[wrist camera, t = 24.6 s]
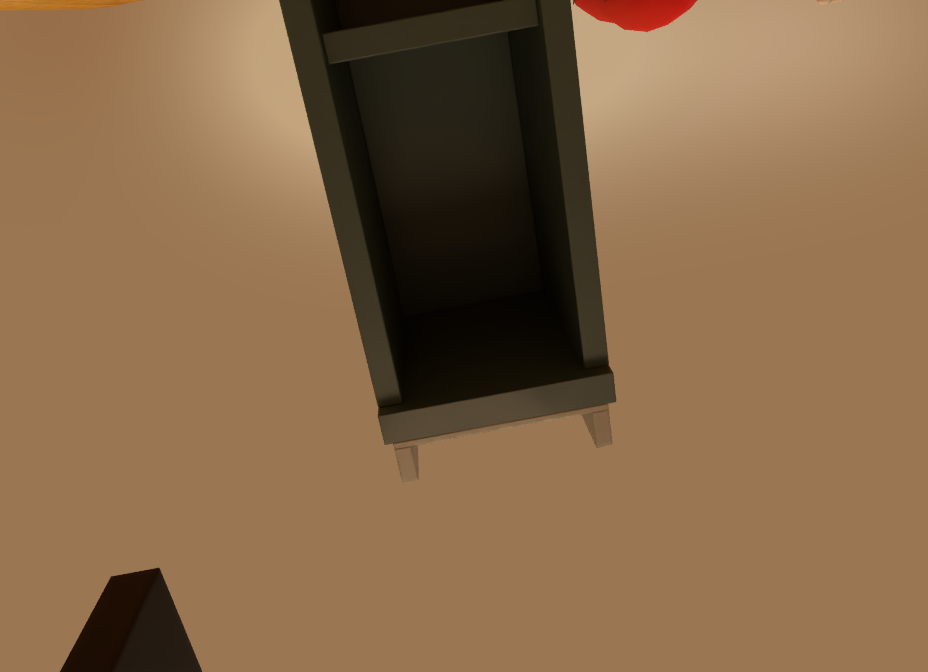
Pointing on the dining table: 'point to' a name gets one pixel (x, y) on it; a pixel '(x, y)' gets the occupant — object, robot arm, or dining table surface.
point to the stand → (459, 210)
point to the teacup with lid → (827, 1)
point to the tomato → (636, 12)
